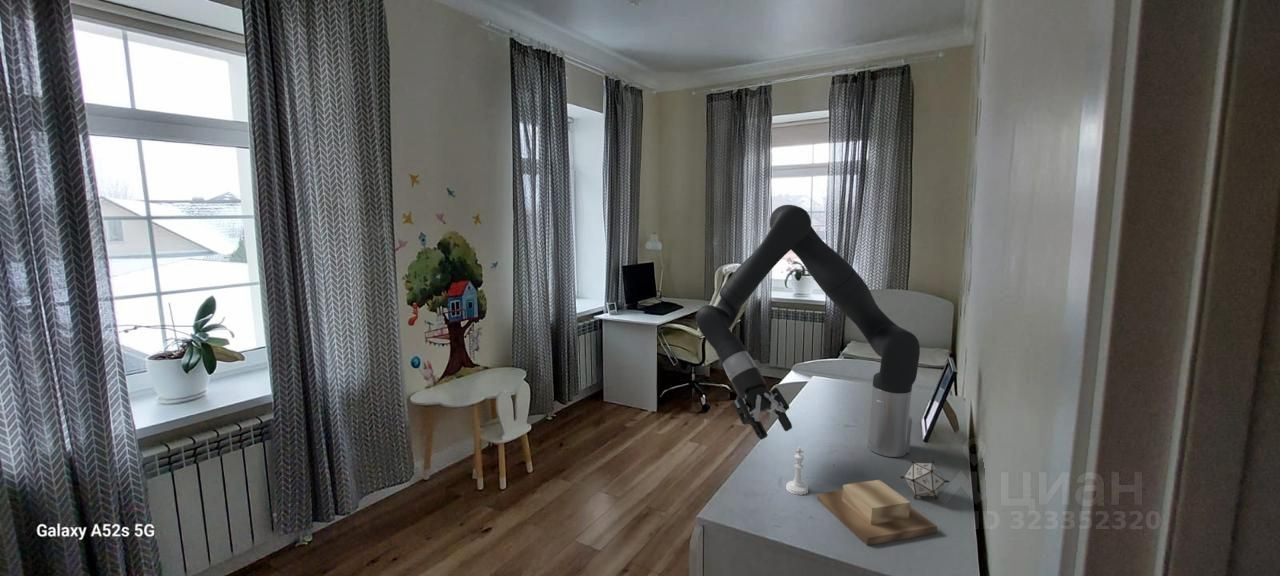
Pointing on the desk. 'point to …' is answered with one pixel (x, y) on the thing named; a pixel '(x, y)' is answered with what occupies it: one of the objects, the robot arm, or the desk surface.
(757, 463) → the desk surface
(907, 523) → the walnut base
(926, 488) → the game die
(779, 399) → the robot arm
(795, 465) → the chess piece
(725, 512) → the desk surface
